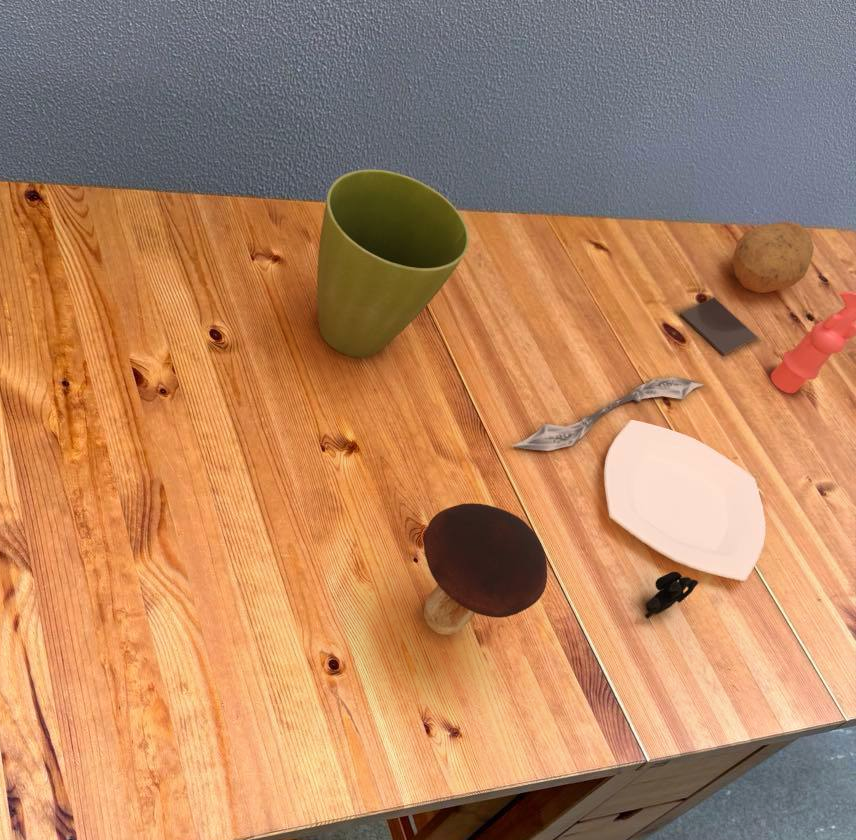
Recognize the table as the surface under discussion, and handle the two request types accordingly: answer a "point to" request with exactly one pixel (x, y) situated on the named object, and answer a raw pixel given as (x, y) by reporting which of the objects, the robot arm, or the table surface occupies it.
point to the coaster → (718, 326)
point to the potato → (773, 256)
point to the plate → (684, 500)
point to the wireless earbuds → (669, 592)
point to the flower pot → (382, 257)
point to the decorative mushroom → (481, 566)
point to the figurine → (816, 347)
